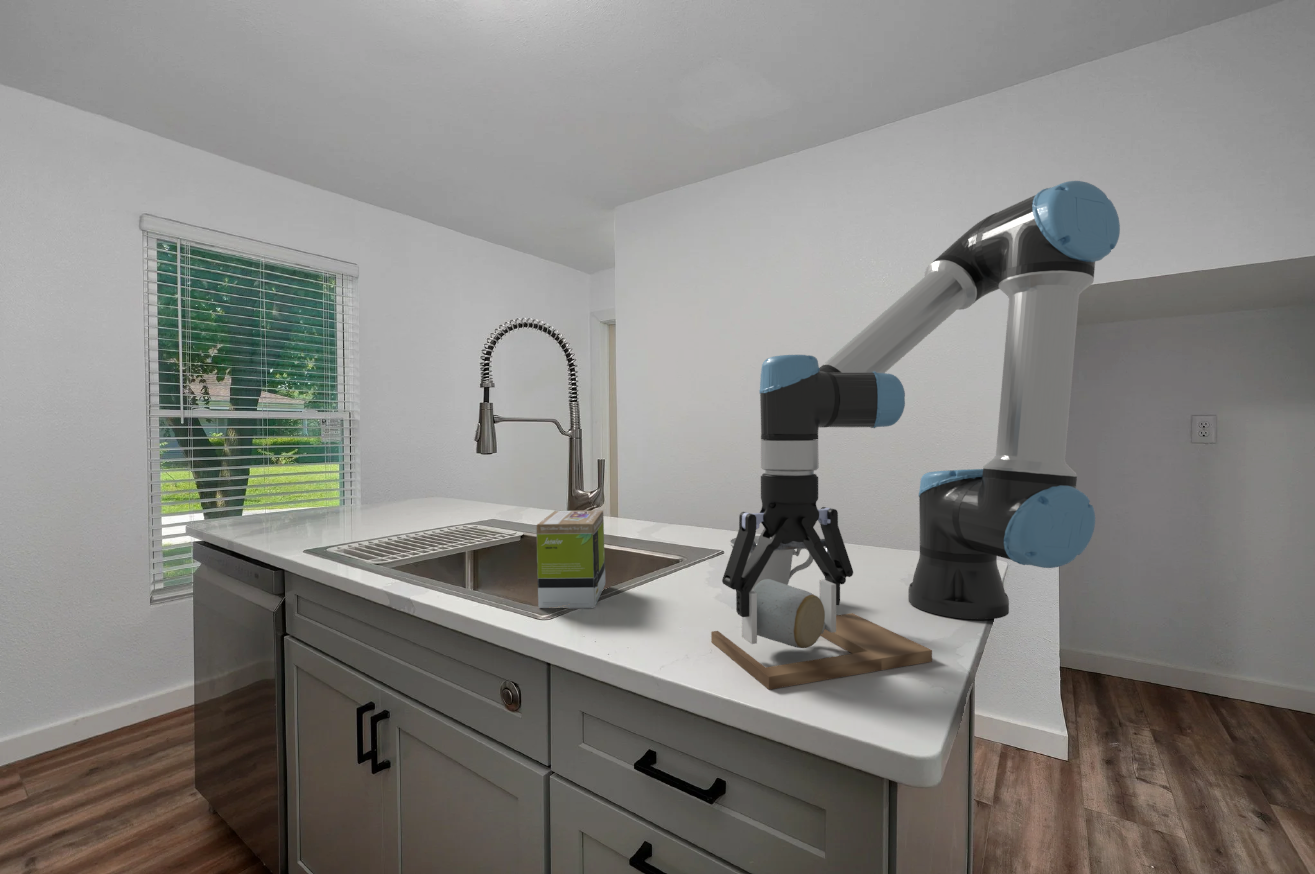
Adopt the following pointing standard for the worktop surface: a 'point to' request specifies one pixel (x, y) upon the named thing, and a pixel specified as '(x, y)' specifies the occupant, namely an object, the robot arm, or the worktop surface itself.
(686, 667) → the worktop surface
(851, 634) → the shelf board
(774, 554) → the teacup
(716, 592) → the worktop surface
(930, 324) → the robot arm
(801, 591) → the ceramic mug
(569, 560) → the tea box
